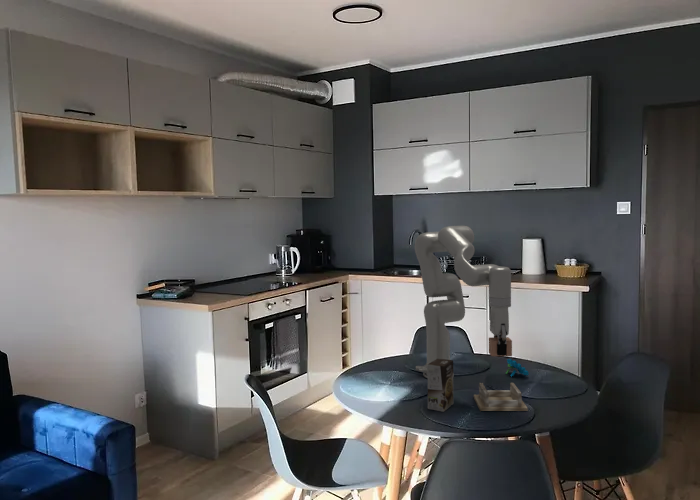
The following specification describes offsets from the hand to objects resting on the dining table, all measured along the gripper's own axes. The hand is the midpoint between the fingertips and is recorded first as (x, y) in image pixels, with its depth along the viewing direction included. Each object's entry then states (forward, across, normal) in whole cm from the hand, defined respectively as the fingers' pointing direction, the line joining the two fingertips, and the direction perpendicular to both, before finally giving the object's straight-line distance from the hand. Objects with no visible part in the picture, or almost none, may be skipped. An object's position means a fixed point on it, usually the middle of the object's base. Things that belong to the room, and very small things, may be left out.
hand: (500, 352), depth 200 cm
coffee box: (+19, +2, -21) cm, 28 cm away
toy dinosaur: (+19, -34, +14) cm, 41 cm away
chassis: (+19, 0, 0) cm, 19 cm away
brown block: (+1, 0, 0) cm, 1 cm away
